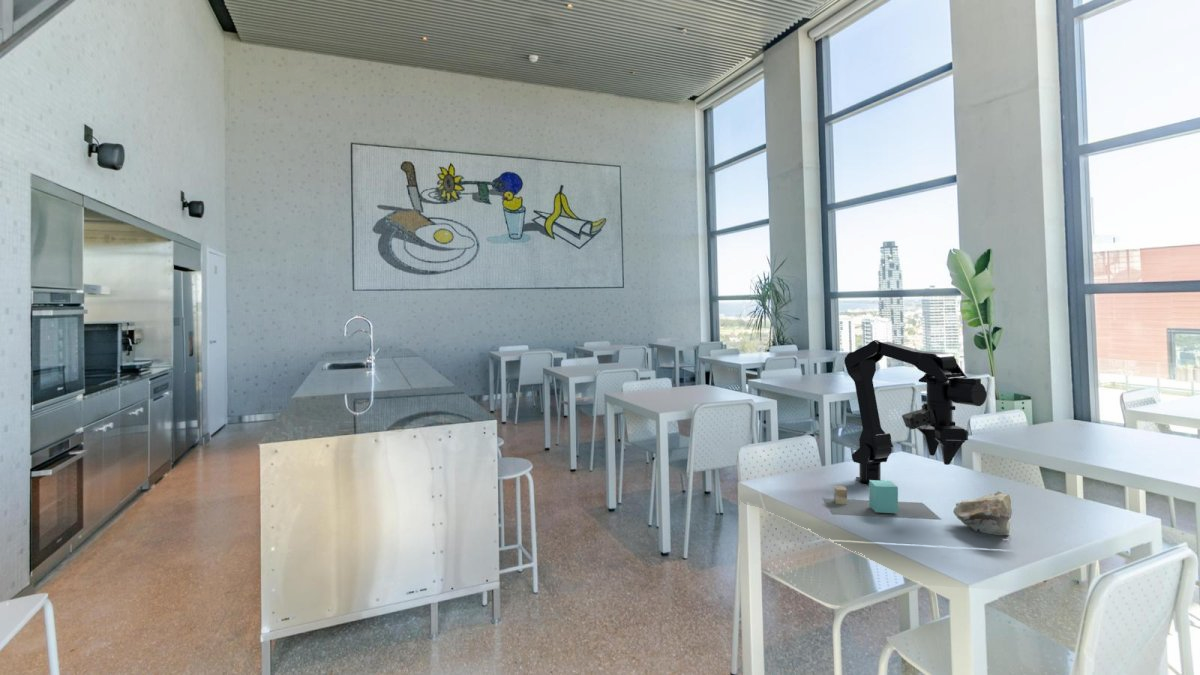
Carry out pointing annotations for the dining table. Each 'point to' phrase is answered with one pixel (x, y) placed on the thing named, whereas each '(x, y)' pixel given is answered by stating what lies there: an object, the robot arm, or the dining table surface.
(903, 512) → the mat
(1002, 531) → the stone
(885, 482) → the teal rectangular block
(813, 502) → the dining table surface
